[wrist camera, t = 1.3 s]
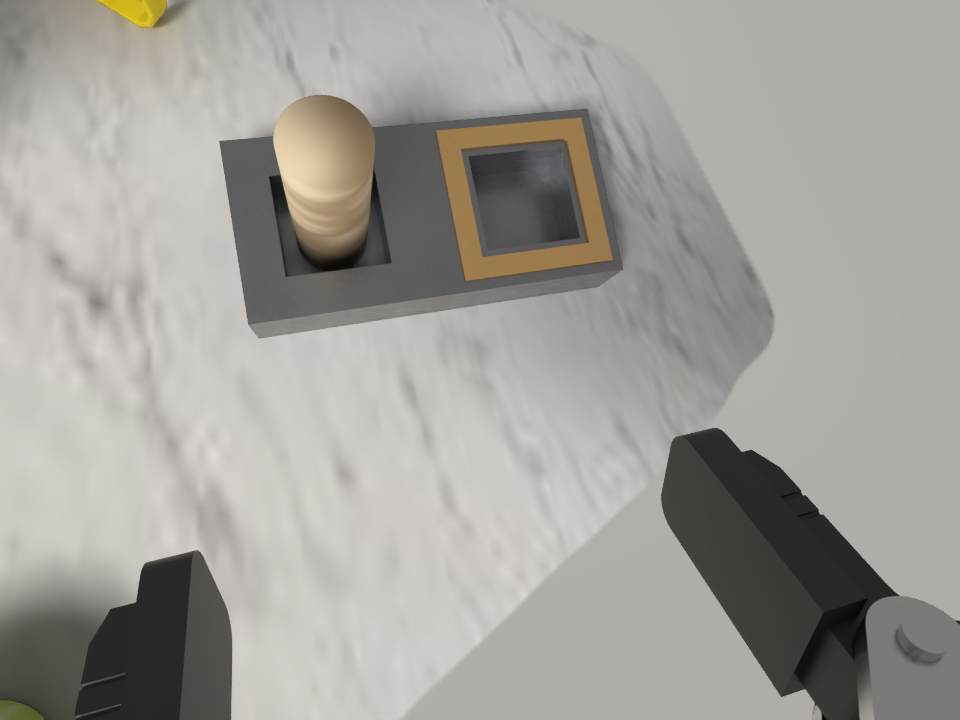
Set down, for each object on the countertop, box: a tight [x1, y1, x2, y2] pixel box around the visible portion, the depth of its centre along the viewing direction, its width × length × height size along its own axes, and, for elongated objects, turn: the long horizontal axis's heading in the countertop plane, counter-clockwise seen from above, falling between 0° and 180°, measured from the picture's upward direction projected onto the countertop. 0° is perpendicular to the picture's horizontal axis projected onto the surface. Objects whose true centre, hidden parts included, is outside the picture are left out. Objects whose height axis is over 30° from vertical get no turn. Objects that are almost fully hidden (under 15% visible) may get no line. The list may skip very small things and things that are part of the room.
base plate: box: [219, 109, 623, 338], centre depth 38 cm, size 21×10×4 cm, turn 102°
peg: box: [273, 95, 375, 271], centre depth 32 cm, size 4×4×12 cm
